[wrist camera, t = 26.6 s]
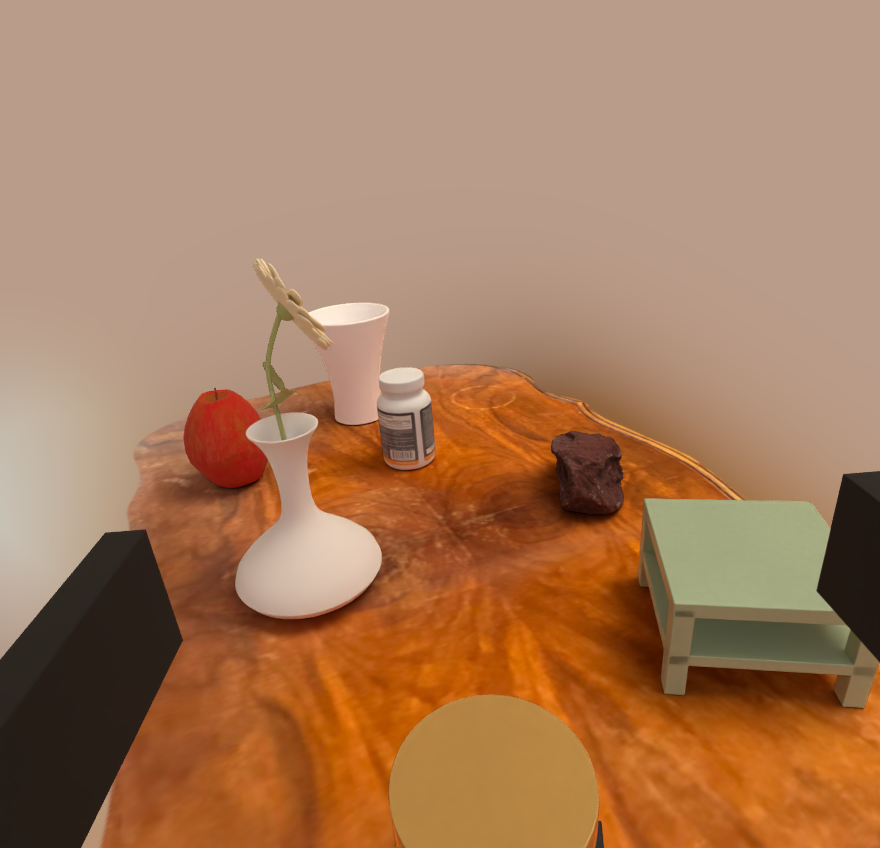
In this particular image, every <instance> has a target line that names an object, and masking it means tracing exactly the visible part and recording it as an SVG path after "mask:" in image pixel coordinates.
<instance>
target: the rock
mask: <svg viewBox="0 0 880 848" xmlns="http://www.w3.org/2000/svg"><path fill="white" fill-rule="evenodd" d="M551 451H552V453H554V455H555V456H556V458H557V468H556V471H557V474H558V479H559V484H560V494H559V497H560V502H561V506H562V507H563V508H564V509H565V510H569V511H575V512H582V513H586V514H597V513H599V514H608V513H612V512H614V511H616V510H617V509H619V508H620V507H621V506H622V505H623V499H624V495H623V492H622V487H621V480H622V479H623V472H622V467H621V466H620V463H619V461H620V459H621V457H622V452H621V449H620V448H619V446H618V445H617V444H616V442H615V440H614V439H613V438H611V437H605V436H602V435H601V434H599V433H598V434H587V433H581V432H576V431H570V432H568V433H565V434H561V435H559V436H556V437H555V438H554V439H553V440H552V444H551Z"/></svg>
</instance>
